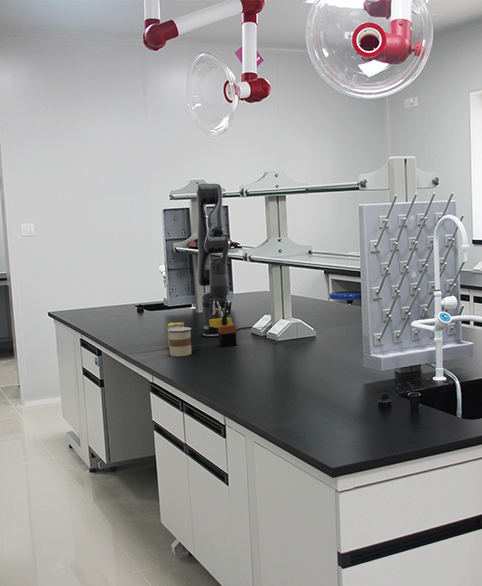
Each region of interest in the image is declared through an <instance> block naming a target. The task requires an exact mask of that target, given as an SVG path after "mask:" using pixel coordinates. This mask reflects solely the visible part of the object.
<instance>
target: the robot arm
mask: <svg viewBox="0 0 482 586" xmlns="http://www.w3.org/2000/svg"><path fill="white" fill-rule="evenodd" d="M196 205H197V207H196V208H197V249H198V253H197V254H198V259H197V261H198V262H197V282H198V285H199V286H200V287H209V291H207V292H204V293H203V294H202V295H201V307H202V308H201V309H202V327H203V337H207V338H216V337H219V330H218V328H215V327H210V324H209V319H215V318H222V325H227V317H228V316H231V312H232V301H231V300H228V298H227V296H229V279H228V278H229V276H228V271H227V270H228V269H227V268H228V267H227V265H228V264H227V263H228V262H227V261H228V255H229V251H230V247H231V241H230V239H229V237H228V236H226V235H224V233H225V229H224V224H223V188H222V186H221V184H220V183H199V184H198V185H197V187H196ZM208 205H210V206H211V205H213V208H212V209H211V211H210V212H209V213H208V212H207V209H206V207H205V206H208ZM212 254H221V255H220V256H219V257H217V258H213V259H211V260H210V261H209V265H207V262H208V260H209V259H210V257H211V255H212ZM247 329H253V328H252V326H244V327H237V328H236V332H237V331H240V330H247Z"/></svg>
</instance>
